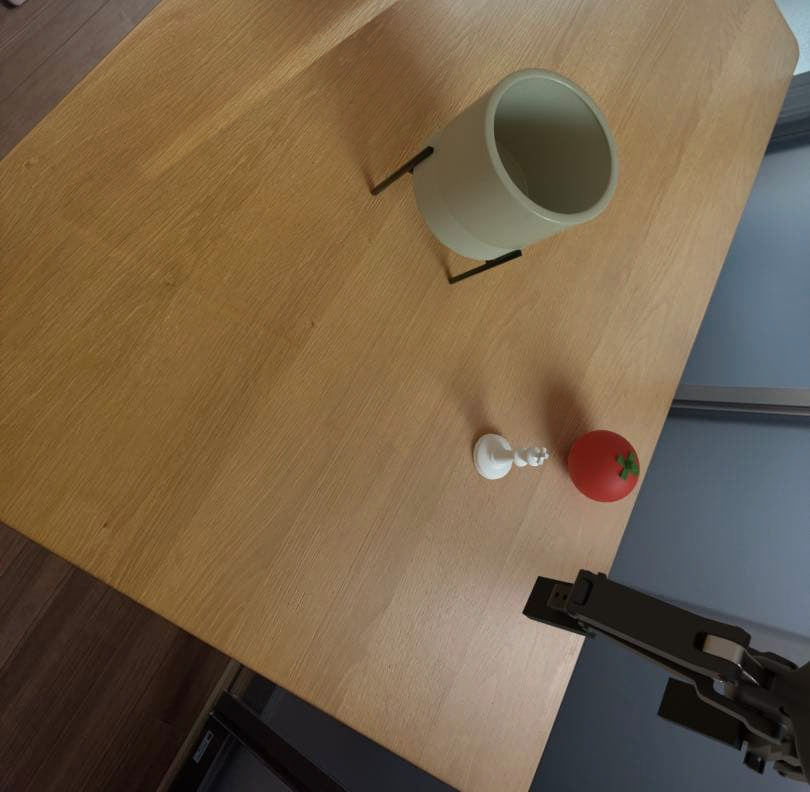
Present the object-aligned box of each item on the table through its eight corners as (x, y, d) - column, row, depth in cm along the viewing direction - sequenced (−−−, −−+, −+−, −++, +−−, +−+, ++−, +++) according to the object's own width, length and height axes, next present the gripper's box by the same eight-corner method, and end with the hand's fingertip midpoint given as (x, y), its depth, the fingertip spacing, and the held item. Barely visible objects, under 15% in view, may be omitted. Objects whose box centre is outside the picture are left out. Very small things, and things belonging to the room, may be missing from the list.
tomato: (590, 514, 86) (647, 519, 78) (543, 475, 84) (596, 477, 76) (615, 455, 90) (671, 455, 82) (570, 417, 88) (623, 413, 80)
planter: (512, 222, 91) (647, 156, 71) (437, 306, 83) (566, 257, 64) (433, 129, 89) (549, 35, 70) (349, 205, 81) (454, 123, 62)
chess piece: (467, 468, 80) (520, 469, 71) (481, 426, 82) (534, 422, 73) (502, 486, 81) (558, 489, 73) (515, 444, 83) (571, 443, 75)
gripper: (1077, 795, 37) (732, 685, 56) (766, 524, 32) (498, 501, 50) (1067, 970, 34) (702, 791, 52) (717, 697, 29) (447, 605, 47)
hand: (601, 648), depth 51 cm, fingers open, 13 cm apart
